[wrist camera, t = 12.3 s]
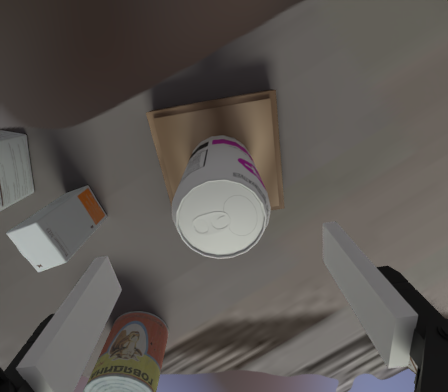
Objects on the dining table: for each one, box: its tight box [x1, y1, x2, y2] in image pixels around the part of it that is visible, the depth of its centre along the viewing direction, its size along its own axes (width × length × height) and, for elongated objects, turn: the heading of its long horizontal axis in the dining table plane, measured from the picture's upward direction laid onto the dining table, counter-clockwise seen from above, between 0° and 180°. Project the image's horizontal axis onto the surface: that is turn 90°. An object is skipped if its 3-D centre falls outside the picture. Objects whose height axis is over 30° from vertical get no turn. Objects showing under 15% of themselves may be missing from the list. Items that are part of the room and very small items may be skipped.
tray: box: [146, 90, 284, 210], centre depth 35 cm, size 16×16×4 cm
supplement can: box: [172, 135, 271, 259], centre depth 26 cm, size 8×8×15 cm
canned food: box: [83, 311, 169, 392], centre depth 46 cm, size 11×11×12 cm
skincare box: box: [6, 185, 108, 272], centre depth 34 cm, size 6×4×12 cm
